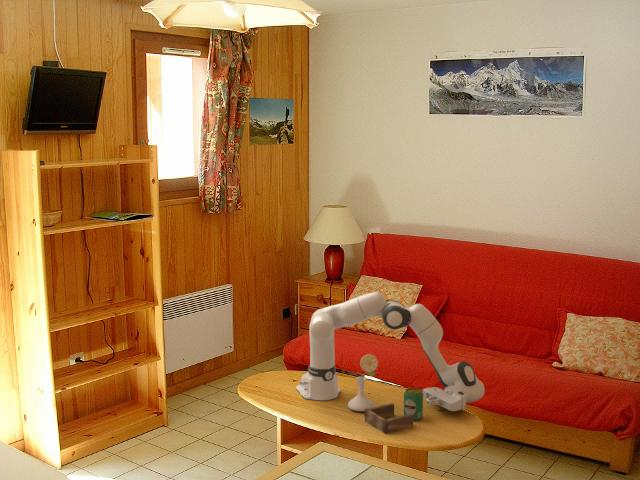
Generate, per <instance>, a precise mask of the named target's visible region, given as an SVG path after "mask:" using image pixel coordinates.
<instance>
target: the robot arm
mask: <svg viewBox="0 0 640 480" xmlns="http://www.w3.org/2000/svg"><path fill="white" fill-rule="evenodd" d="M375 317H380V318H382V323H383V324H384V326H386V327H387V328H388V329H390V330H400V329H401V328H402V329H403V328H405V327H410V328H411V330H413V332H414V333H415V334H416V336H417V337H418V339H419V340H420V342H421V348H422V350H423V352H424V354H425V357H426V358H427V359H428V361H429V362H430V364H431V366H432V368H433V370H435V372H436V376H437V377H438V380H439V383H440V384H441V386H442V387H444V390H443V389H442V388H440V387H435V386H432V387H426V388H423V389H422V393H423V399H424V398H425V404H428V405H429V406H431V405H432V406H433V405H436V406H440V407H442V408H444V409H445V410H448V411H450V412H457V411H461V410H462V411H464V410H466V407H467V404H470V403H473V402H476V401H478V400H481V399H483V396H484V394H485V390H486V389H485V386H484V383H483V382H482V381H481V380H480V379H478V377H477V375H476V373H475V369H474V367H473V366H472V364H471V363H469V362H468V361H466V360H464V361H463V360H462V361H460V362H456V363H454V364H452V365H450V364H449V363H447V362H446V360H445V359H444V357H443V354H441V352H440V349H439V345H440V342H441V341H442V339H443V336H444V330H443V327H442V325H441V324H440V323H439V321H438V319H436V317H435V316H434V315H433V314H432V312H431V311H430V310H429V309H427V307H425V306H424V304H421V303H415V304H413V305H410V306H409V307H405V305H404V304H403V303H402V302H400V301H396V300H391V299H386V298H385V296H384V295H383V294H382V293H381V292H379V291H372V292H367V293H365V294H361V295H359V296H355V297H353V298H352V299H351V298H350V299H349V300H346V301H344V302H341V303H337V304H334V305H333V304H332V305H329V306H327V307H322V308H319V309H317V310H315V311H314V312H313V313H312V314H311V319H310V322H309V327H308V329H309V348H310V350H309V354H310V355H309V356H310V357H309V359H310V361H309V363H310V364H309V363H308V364H307V365H308V366H307V367H308V371H307V372H306V373H305V374H303V375H302V376H301V377H300V381H299V383H300V384H298V385H296V386H295V390H296V389H297V390H298V391H299V392H300V393H299V392H298V391H297V390H296V391H297V392H298V393H299V394H300V395H301V397H302V396H303V397H304V398H305V399H304V398H303V397H302V398H303V399H304V400H315V401H330V400H333V399H337V398H338V397H339V394H340V393H341V389H340V388H339V382H338V380H339V379H338V378H339V377H338V375H337V374H336V371H337V370H336V369H337V367H336V363H335V330H337V329H341V328H346V327H353V326H355V325H356V324H357V325H358V324H360V323H362V322H365V321H367V320H369V319H372V318H375Z"/></svg>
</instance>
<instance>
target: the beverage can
mask: <svg viewBox="0 0 640 480" xmlns="http://www.w3.org/2000/svg"><path fill="white" fill-rule="evenodd" d="M423 408H424V397H423V390H422V389H420V388H417V387H408V388H406V389H405V391H404V392H403V416H404V415H408V414H413V422H419V421H421V420H422V418H423V417H424V416H423V414H424V412H423V411H424V409H423Z"/></svg>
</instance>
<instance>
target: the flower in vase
mask: <svg viewBox="0 0 640 480" xmlns="http://www.w3.org/2000/svg"><path fill="white" fill-rule="evenodd" d="M378 364H379V360H377V357H376V356H375V355H374V354H371V353H367V354H365V355H363V356H362V357H361V359H360V361H359V366H360V367H361V368H362V371H364V374H362V373H360V372H357V371H355V373H356V374H358V375H361V376H357V377H355V378H354V379H355V380H356V382H357V387H358V389H357V390H358V391H357V392H358V393H357V394H356V396H355V397H353V398H352V399H350V400H349V401H348V404H347V407H348V408H349V409H350V410H352V411H354V412H355V411H356V412H365V409H369V408H374V407H375V403H374V402H373V401H372V400H371V399H370V398H368V397H367V395H365V393H364V387H365V383H366V381H367V380H368V378H367V377H365V375H366V374H367V375H368V376H369V377H373V376H376V375H377V373H376V372H375V370H377V369H378Z"/></svg>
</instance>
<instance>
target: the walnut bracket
mask: <svg viewBox="0 0 640 480" xmlns="http://www.w3.org/2000/svg"><path fill="white" fill-rule="evenodd" d="M394 416H395V403H393V402H392V403H387V404H382V405H378V406H374V407H373V408H369V409H365V411H364V422H366V423H368V424H369V425H371V426H372V427H374V428H375V429H377V430H378V431H380V432H381V433H383V434H390V433H393V432H397V431H400V430H405V429H410V428H413V427H414V421H413V414H408V415H404V414H403V415H401V416H396V417H394ZM389 417H390V418H389ZM386 418H387V419H386ZM388 418H389V419H388Z"/></svg>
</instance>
